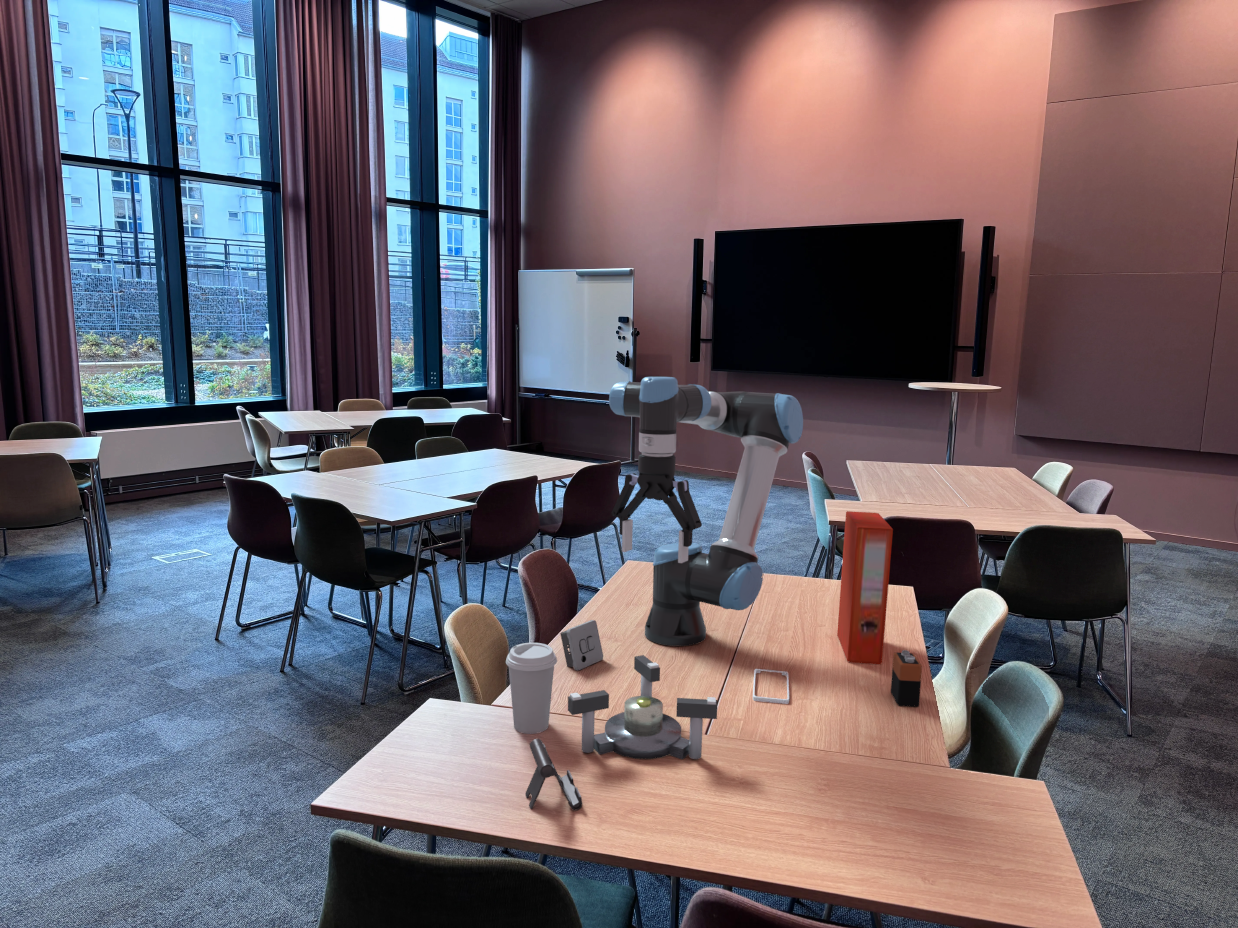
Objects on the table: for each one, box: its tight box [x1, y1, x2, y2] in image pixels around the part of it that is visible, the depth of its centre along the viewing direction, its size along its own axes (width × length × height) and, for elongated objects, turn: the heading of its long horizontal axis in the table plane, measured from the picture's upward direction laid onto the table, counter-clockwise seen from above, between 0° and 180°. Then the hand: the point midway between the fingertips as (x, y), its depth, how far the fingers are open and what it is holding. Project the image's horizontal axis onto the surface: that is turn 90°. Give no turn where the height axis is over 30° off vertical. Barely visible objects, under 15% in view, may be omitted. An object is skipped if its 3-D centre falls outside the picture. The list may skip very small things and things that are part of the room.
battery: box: [890, 649, 923, 708], centre depth 171 cm, size 4×7×10 cm, turn 174°
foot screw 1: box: [567, 689, 610, 754], centre depth 147 cm, size 7×2×11 cm, turn 115°
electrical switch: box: [559, 619, 604, 671], centre depth 187 cm, size 9×5×9 cm, turn 141°
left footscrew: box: [676, 696, 718, 760], centre depth 145 cm, size 7×2×11 cm, turn 85°
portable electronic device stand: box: [525, 738, 583, 812], centre depth 132 cm, size 9×8×8 cm
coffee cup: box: [505, 642, 558, 735], centre depth 156 cm, size 10×10×15 cm
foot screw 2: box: [633, 654, 661, 697], centre depth 162 cm, size 7×2×11 cm, turn 25°
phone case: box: [752, 668, 790, 705], centre depth 176 cm, size 7×1×15 cm
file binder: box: [836, 510, 894, 666], centre depth 196 cm, size 8×17×32 cm, turn 173°
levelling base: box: [594, 695, 689, 760], centre depth 151 cm, size 18×16×8 cm
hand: (654, 556), depth 170 cm, fingers open, 13 cm apart
